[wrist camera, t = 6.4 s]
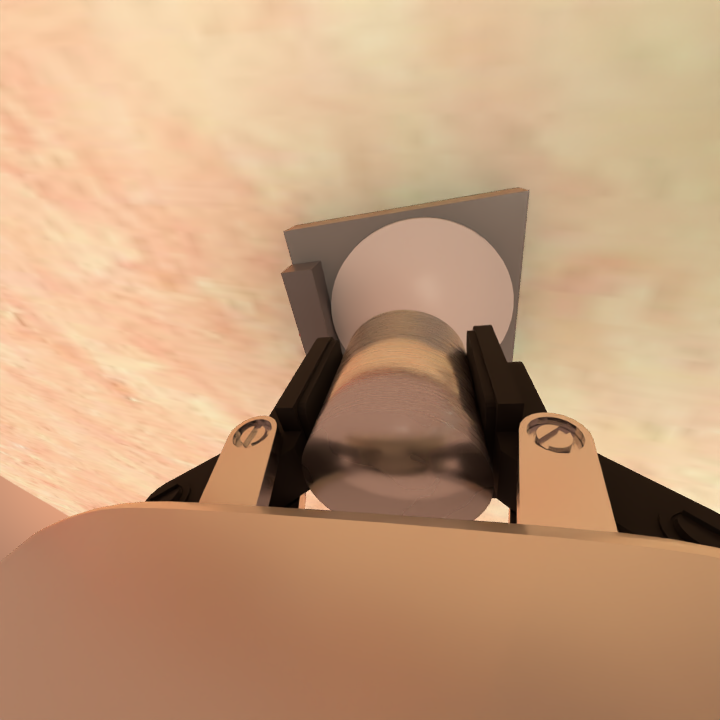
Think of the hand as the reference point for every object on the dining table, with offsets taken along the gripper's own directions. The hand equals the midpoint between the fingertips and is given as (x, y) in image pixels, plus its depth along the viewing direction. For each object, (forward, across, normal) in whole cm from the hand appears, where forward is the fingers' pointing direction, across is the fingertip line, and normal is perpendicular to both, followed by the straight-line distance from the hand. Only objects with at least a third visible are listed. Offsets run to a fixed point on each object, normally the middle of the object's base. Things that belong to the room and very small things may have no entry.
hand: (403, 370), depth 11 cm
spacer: (0, 0, 0) cm, 0 cm away
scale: (+17, +1, +4) cm, 18 cm away
